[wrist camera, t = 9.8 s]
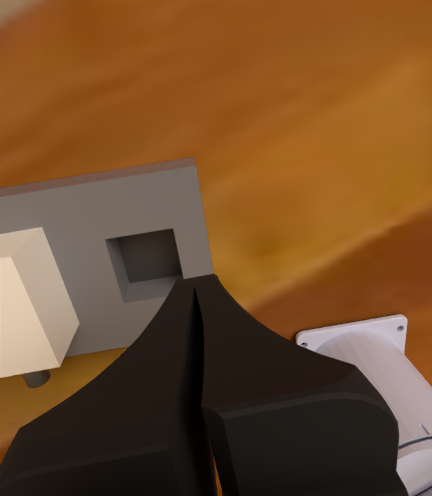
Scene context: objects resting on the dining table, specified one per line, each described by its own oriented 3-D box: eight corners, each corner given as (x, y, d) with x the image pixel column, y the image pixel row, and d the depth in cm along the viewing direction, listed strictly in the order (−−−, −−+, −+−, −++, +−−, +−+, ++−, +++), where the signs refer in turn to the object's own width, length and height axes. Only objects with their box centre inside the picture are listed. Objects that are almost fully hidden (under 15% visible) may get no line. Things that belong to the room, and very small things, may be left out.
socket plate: (218, 307, 23) (222, 330, 21) (10, 342, 23) (-9, 370, 21) (194, 157, 19) (195, 165, 17) (-61, 197, 19) (-94, 212, 17)
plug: (97, 329, 23) (73, 396, 18) (24, 342, 22) (-22, 414, 17) (55, 214, 19) (10, 256, 14) (-31, 229, 19) (-107, 277, 14)
